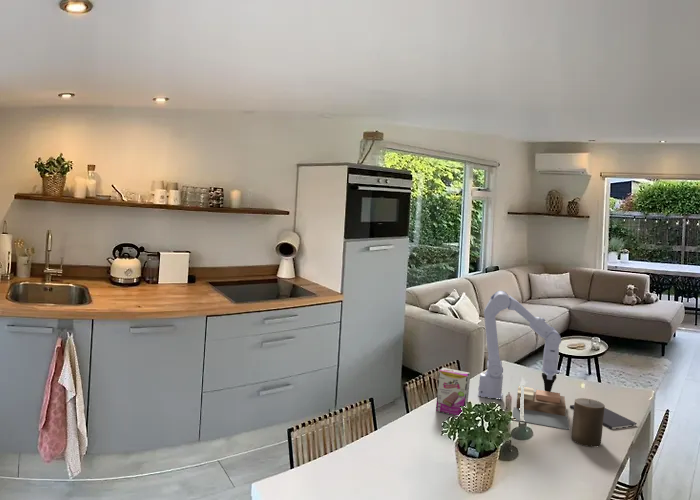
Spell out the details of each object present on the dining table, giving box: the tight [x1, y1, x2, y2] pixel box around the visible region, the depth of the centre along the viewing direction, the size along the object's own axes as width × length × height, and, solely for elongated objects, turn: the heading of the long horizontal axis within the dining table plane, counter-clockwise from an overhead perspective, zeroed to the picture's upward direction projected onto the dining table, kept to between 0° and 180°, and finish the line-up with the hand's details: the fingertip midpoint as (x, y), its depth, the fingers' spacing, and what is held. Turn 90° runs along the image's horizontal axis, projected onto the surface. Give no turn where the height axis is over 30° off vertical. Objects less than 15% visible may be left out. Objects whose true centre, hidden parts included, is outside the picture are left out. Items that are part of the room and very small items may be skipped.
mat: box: [512, 406, 570, 431], centre depth 207 cm, size 20×13×1 cm, turn 71°
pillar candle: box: [570, 397, 606, 448], centre depth 188 cm, size 10×10×15 cm
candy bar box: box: [435, 367, 471, 416], centre depth 207 cm, size 11×5×16 cm, turn 65°
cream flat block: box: [516, 385, 535, 400], centre depth 219 cm, size 9×6×2 cm, turn 161°
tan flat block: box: [515, 391, 567, 416], centre depth 218 cm, size 18×12×4 cm, turn 71°
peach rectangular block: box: [535, 389, 561, 403], centre depth 217 cm, size 9×6×2 cm, turn 71°
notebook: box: [569, 404, 637, 430], centre depth 212 cm, size 13×2×21 cm
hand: (547, 391), depth 223 cm, fingers closed
